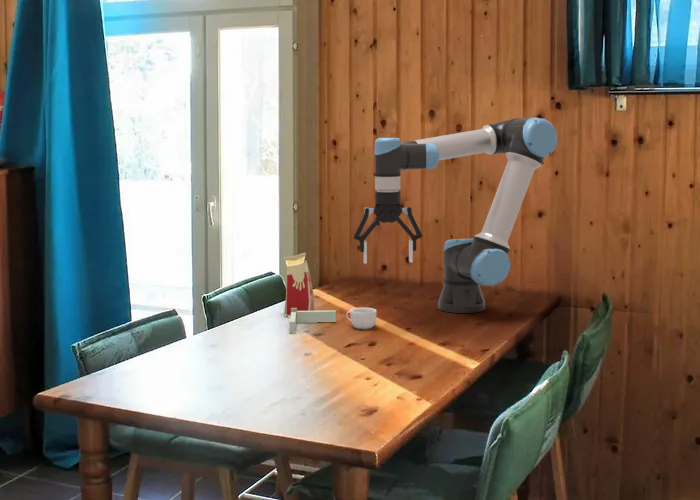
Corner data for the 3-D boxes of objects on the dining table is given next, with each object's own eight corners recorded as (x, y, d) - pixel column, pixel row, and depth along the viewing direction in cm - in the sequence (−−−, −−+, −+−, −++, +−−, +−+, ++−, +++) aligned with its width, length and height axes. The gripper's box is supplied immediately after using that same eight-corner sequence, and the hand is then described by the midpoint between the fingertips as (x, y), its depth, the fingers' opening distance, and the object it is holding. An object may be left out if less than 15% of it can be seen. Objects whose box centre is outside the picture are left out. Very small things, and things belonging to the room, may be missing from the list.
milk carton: (314, 311, 289) (313, 250, 286) (310, 317, 280) (309, 254, 277) (286, 311, 290) (285, 250, 287) (281, 317, 280) (280, 254, 278)
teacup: (381, 327, 267) (381, 309, 266) (368, 332, 260) (368, 314, 260) (353, 323, 272) (353, 305, 271) (339, 328, 266) (339, 310, 265)
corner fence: (335, 321, 274) (335, 307, 274) (336, 333, 259) (336, 318, 259) (291, 321, 274) (290, 307, 273) (289, 333, 259) (289, 318, 258)
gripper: (427, 189, 267) (427, 259, 270) (344, 190, 265) (345, 261, 268) (431, 191, 259) (431, 263, 262) (346, 192, 257) (346, 265, 261)
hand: (388, 262), depth 265 cm, fingers open, 13 cm apart
